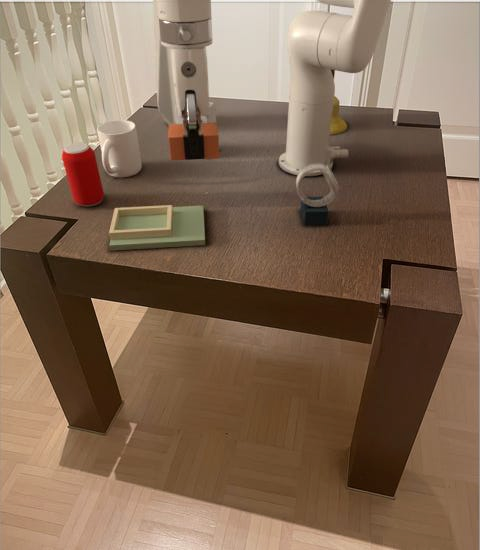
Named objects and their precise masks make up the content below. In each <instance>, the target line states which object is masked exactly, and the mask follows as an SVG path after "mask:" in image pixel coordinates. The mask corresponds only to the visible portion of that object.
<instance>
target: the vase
mask: <svg viewBox="0 0 480 550" xmlns="http://www.w3.org/2000/svg"><path fill="white" fill-rule="evenodd" d="M152 3H153V28H154V29H153V31H154V52H155V53H154V55H155V77H156V78H155V79H156V100H157V102H156V103H157V110H158V112H159V114H160V116H161V117H162V119H163V120H164V122H165V123H166V124H167V125H168V126H169V124H177V122H176V112H175V105H177V103H176V97H175V90H174V83H173V74H172V65H171V55H170V48H168V47H165V46H163V45H161V38H160V28H159V17H158V8H157V0H152Z"/></svg>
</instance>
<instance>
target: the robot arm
mask: <svg viewBox="0 0 480 550" xmlns="http://www.w3.org/2000/svg"><path fill="white" fill-rule="evenodd" d="M315 1H316V2H318V3H320V4H323V5H327V6H332V7H333V6H334V7H341V8H350V9H353V12H352V15H350V14H341V13H337V12H331V11H323V10H306V11H303V12H301V13H299V14H297V15H296V16H295V17H294V18H293V19H292V21H291V23H290V25H289V27H288V31H287V38H286V47H287V54H288V61H289V93H288V95H289V96H288V112H287V127H286V128H287V130H286V144H285V152H283V153H282V154H281V155H280V156H279V158H278V166H279V167H280V168H281V169H282V170H283V171H284V172H286V173H288V174H291V175H295V176H298V174H299V173H300V171H301V170H302V169H303V168H305V167H306V166H308V165H310V164H315V163H317V164H318V163H320V164H324V165H325V166H327V165H328V166H329V167H330V169H331V170H332V169H333V165H334V160H335V159H347V158H348V157H349V149H347V148H345V149H344V148H343V149H341V147H340V146H339V145H335V146H330V144H329V143H330V135H331V134H330V127H331V119H332V110H333V102H334V96H335V93H336V85H335V84H336V83H335V78H334V79H333V75H332V72H331V70H330V69H332V70H335V71H338V72H342V73H348V74H358V73H360V72H363V71H364V70H365V69H367V67H368V66H369V64H370V62H371V60H372V59H373V56H374V53H375V50H376V49H377V45H378V42H379V38H380V35H381V33H382V29H383V27H384V25H385V20H386V17H387V14H388V12H389V8H390V4H391V2H392V0H315ZM157 8H158V17H159V28H160V38H161V45H163V46H165V47H168V48H170V55H171V65H172V74H173V83H174V90H175V97H176V103H177V109H178V114H179V116H180V117H181V118H183V124H184V134H185V135H183V139H184V151H185V159H186V160H185V161H192V160H193V161H194V160H205V159H204V158H205V153H204V135H203V134H202V127H201V123H202V120H201V114H202V116H206V117H209V115H210V106H209V102H210V92H209V91H210V87H209V85H210V84H209V67H208V66H209V65H208V57H207V56H208V55H207V47H209V46H211V45H212V44H213V20H212V19H213V18H212V0H157ZM197 119H198V120H197ZM321 175H323V173H322V171H320V170H319V171H313V172H309V173H308V174H307V175H305V176H304V177H317V176H321Z"/></svg>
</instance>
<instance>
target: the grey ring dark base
mask: <svg viewBox="0 0 480 550" xmlns="http://www.w3.org/2000/svg"><path fill="white" fill-rule="evenodd" d="M319 170H320V171H322V173H323V174H322V176H323V177H324V179H325V183H326V184H327V186H328V187H329V189H330V191H329V193H328V194H327V195H326V196H306V194H305V193H304V192H303V190H302V186H301V181H302V180H303V178H305V177H306V176H305V175H307V174H308V173H309V172H313V171H319ZM336 179H337V178H336V177H335V175H334V173H333V171H332V168H331V169H330V167H329V166H328V165H327V166H325V165H324V164H320V163H318V164H317V163H315V164H310V165H308V166H306V167H305V168H303V169H302V170H301V171H300V173H299V174H298V175H296V179H295V186H296V187H295V188H296V191H297V195H298V197H299V199H300V214H301V218H302V222H303V226H304V227H310V226H311V227H314V226H315V227H318V226H320V227H321V226H322V227H323V226H327V225H328V219H329V213H330V212H329V208H328V205H329V204H330V203H331V202H333V201H334V200H335V198H336V197H337V195H338V190H340V187H339V184H338V181H337V180H336Z"/></svg>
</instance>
